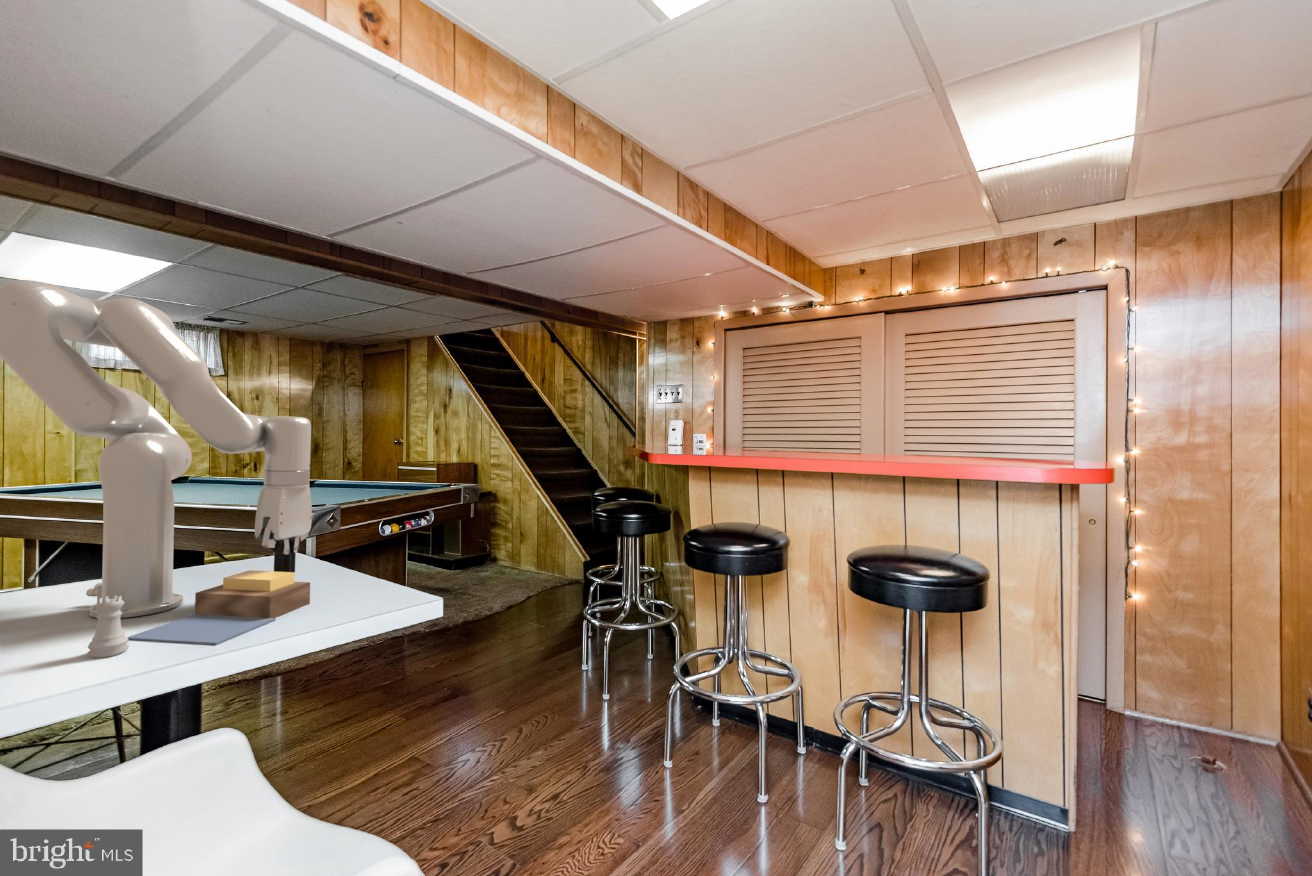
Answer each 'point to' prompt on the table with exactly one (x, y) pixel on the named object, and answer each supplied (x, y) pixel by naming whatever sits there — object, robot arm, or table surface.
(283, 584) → the yellow kitchen sponge
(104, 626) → the rook chess piece
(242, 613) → the wooden block
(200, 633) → the mat
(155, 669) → the table surface
